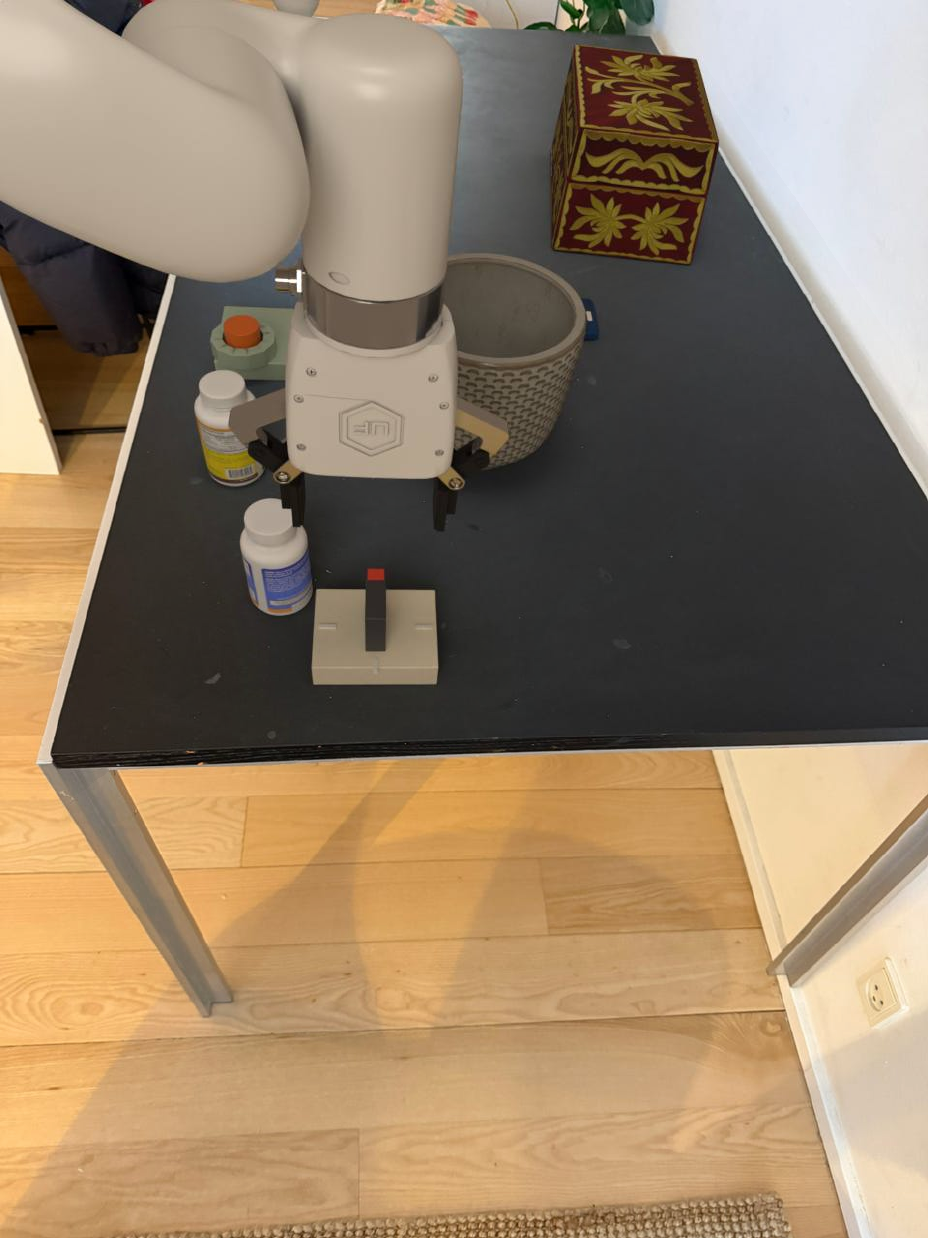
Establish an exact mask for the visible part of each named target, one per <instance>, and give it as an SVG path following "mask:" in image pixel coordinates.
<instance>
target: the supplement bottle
mask: <svg viewBox="0 0 928 1238" xmlns="http://www.w3.org/2000/svg"><path fill="white" fill-rule="evenodd" d="M198 389H199V395H198V396H197V397H196V398H195V402H194V406H193V407H194V415H195V419H196V424H197V428H198V434H199V438H200V442H201V446H202V447H201V448H202V451H203V455H204V460H205V461H204V462H205V464H206V468H207V472H208V474H209V475H210V477H211V478H212V479H213V480H214V481H216V482H217V483H218V484H221V485H224V486H227V487H243V486H247V485H249V484H252V483H254V482H256V481H257V480H258V479H259V478H260V477H262V475H263V474H264V473H265V469H266V468H265V467H264V466H263V465H261V464H260V463H258V462H257V461H256V460H254V459H253V458H251V457H250V456H249V454H248V449H247V448H246V446H245V445H243V444H242V443H241V442H240V441H239V439H238V438H237V437H236V436H235V435H234V433H233V432H232V431H231V430H230V428H229V426H228V422H229V416H230V410H231V409H232V408H233V407H236V406H238V405H241V404H243V403H246V402H249V401H251V400H254V399H257V398H256V397H255V395H254V394H253V393H252V391H250V390H249V389H247V385H246V381H245V379H243V377H242V376H241V375H239V374H238V373H236V372H233V371H229V370H217V371H216V370H213V371H210V372H208V373H206V374H205V375H203V376H202V378H201V379H200V380H199V383H198Z"/></svg>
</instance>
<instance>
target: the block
mask: <svg viewBox="0 0 928 1238" xmlns="http://www.w3.org/2000/svg"><path fill="white" fill-rule="evenodd" d="M293 312H294V308H282V307H261V306H260V307H257V306H235V305H234V306H232V305H224V307H223V312H222V317H221V321H220V322H221V323H220V324H218V325H217V326H216V327H214V328H213V329H212V330H211V335H210V339H209V342H210V348H211V352H212V353H211V354H212V356H213V357H214V358H213V359H214V360H213V364H214V371H217V370H229V371H233V372H236V373H238V374H239V375H241V376H242V377H243V379H244V380H248V381H249V380H250V381H280V382H281V381H282V382H285V372H286V351H287V341H288V334H289V328H290V323H291V318H292V315H293ZM237 315H247V316H251V317H253V318H255V319H256V320H257V321H258V323H259V327H260V335H261V341H260V343H259V344H258V345H257V346H254V347H250V348H247V349H241V348H233V347H231V346H229V345H228V344H227V343H226V339H225V333H224V327H223V326H224V322H225V321H226V320H227V319H228V318H230V317H233V316H237Z"/></svg>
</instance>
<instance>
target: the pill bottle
mask: <svg viewBox="0 0 928 1238" xmlns="http://www.w3.org/2000/svg"><path fill="white" fill-rule="evenodd" d="M243 524H244V528H243V529H242V531H241V534H240V538H239V547H240V553H241V557H242V562H243V566H244V567H243V568H244V571H245V576H246V577H245V578H246V581H247V586H248V593H249V596H250V598H251V601H252V603H253V604H254V605H255V607H257V609H258V610H260V611H261V612H263V613H265V614H268V615H271V616H279V617H280V616H289V615H292V614H295V613H297V612H299V611H301V610H302V609H304V608H305V607H306V606H307V605H308V604H309V602H310V601H311V598H312V596H313V593H314V592H313V591H314V585H313V584H314V583H313V575H312V568H311V559H310V551H309V549H310V548H309V540H308V534H307V532H306V529H305V528H304V525H303V526H302V525H301V527H293V526H292V513H291V509H282V503H281V498H280V499H279V498H274V497H273V498H271V497H269V498H263V499H259V500H257V501H255V502H253V503H252V504H251V505H250V506H248V507H247V509H246V510H245V512H244V514H243Z"/></svg>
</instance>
